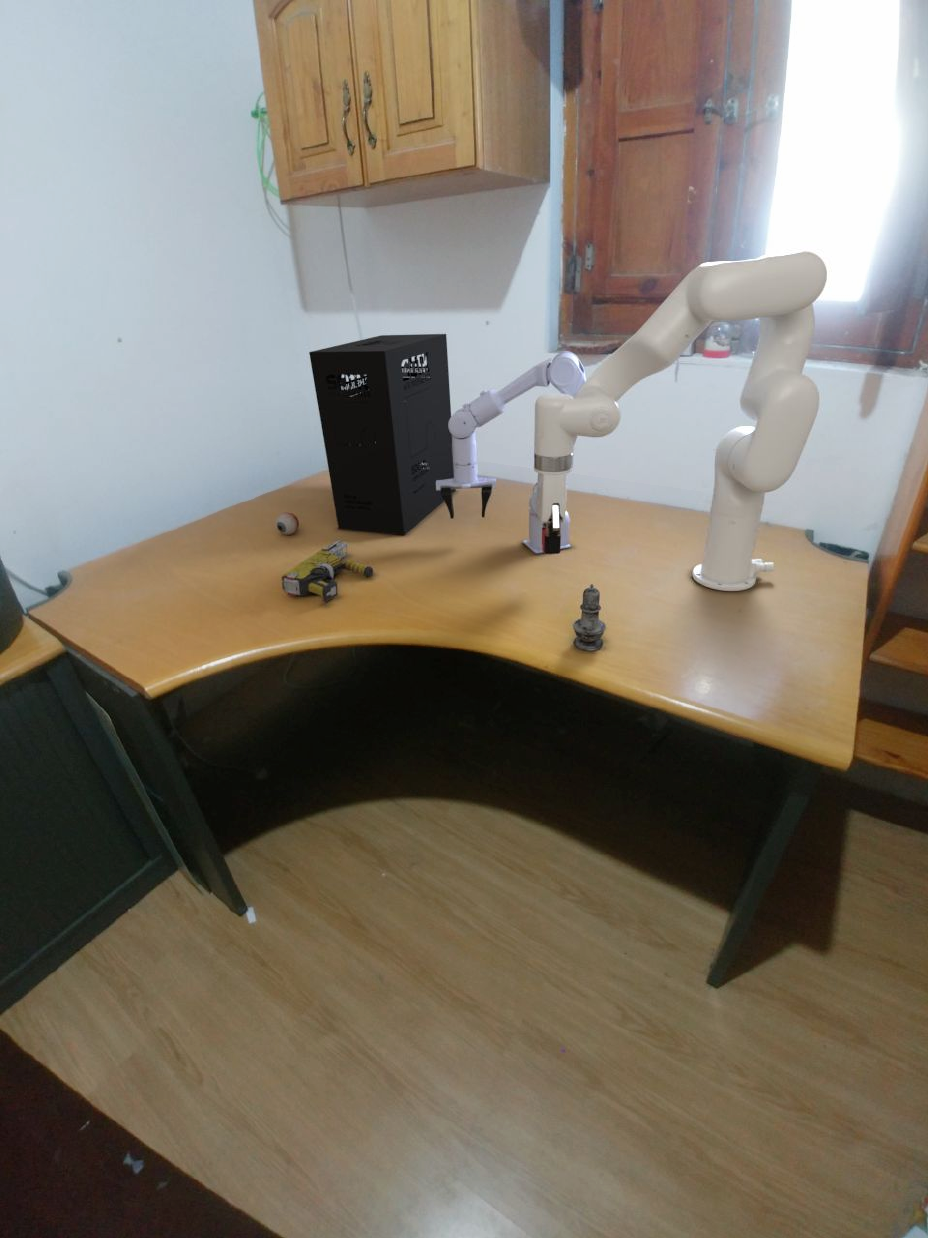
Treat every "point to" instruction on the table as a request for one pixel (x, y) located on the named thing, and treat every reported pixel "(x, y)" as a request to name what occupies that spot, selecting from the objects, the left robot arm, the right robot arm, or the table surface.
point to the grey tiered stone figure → (589, 622)
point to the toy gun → (321, 572)
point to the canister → (543, 539)
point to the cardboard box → (385, 429)
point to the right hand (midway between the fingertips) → (550, 548)
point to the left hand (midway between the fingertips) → (467, 516)
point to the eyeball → (287, 523)
